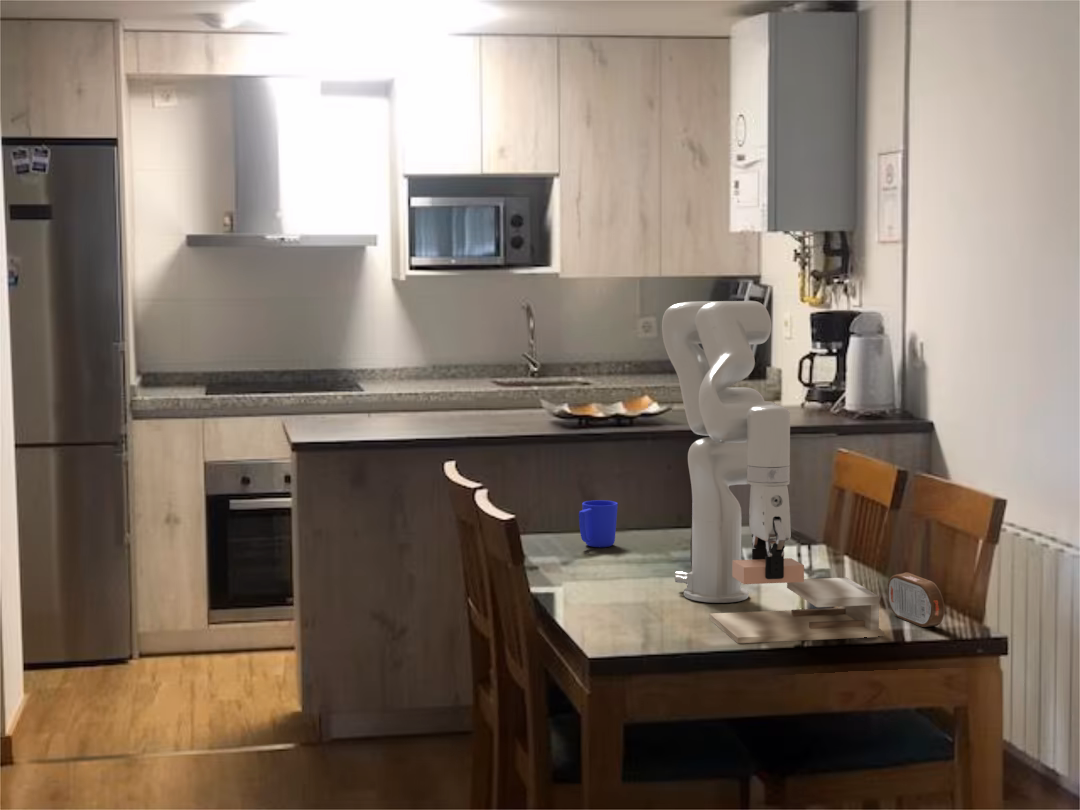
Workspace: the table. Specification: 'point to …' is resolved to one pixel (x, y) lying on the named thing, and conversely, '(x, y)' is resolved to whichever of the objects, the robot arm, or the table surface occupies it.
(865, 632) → the shelf
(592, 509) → the mug
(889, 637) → the table surface
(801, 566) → the peach pink brick
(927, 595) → the tin
